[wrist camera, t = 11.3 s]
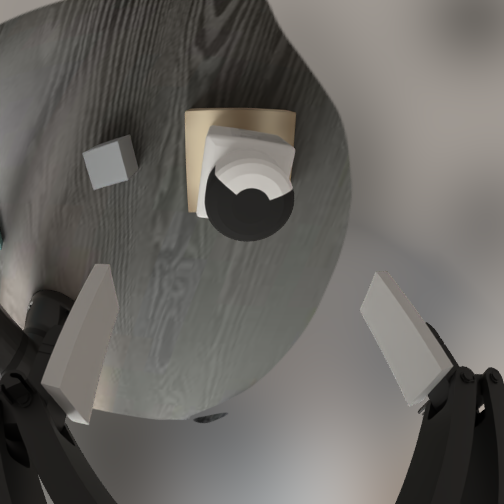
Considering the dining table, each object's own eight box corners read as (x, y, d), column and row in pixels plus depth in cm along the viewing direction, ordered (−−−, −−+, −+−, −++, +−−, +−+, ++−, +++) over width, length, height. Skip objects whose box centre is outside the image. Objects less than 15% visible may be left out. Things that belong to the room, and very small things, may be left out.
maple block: (192, 194, 38) (188, 212, 33) (190, 108, 32) (185, 111, 27) (278, 193, 39) (287, 210, 34) (284, 109, 33) (295, 112, 28)
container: (266, 198, 33) (290, 258, 22) (200, 190, 32) (190, 248, 21) (279, 135, 29) (316, 163, 18) (209, 124, 28) (202, 144, 17)
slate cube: (107, 177, 34) (93, 189, 30) (97, 144, 32) (82, 153, 28) (138, 168, 35) (128, 180, 30) (130, 134, 32) (117, 140, 28)
